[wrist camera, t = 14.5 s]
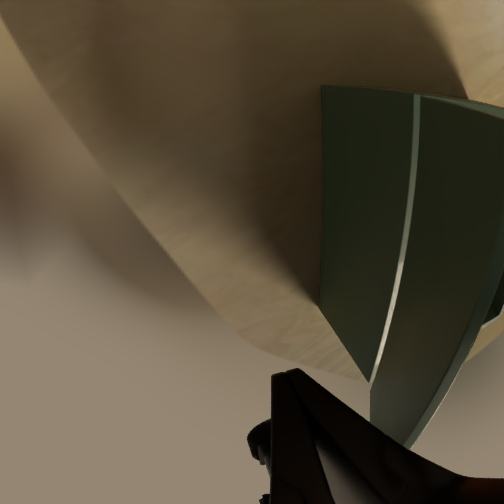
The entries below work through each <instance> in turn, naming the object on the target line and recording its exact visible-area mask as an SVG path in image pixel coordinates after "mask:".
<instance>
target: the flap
mask: <svg viewBox="0 0 504 504" xmlns="http://www.w3.org/2000/svg"><path fill="white" fill-rule="evenodd" d="M503 270H504V117H501V116H498V115H495V114H492V113H489V112H485V111H482V110H479V109H475V108H472V107H468V106H464V105H461V104H457V103H453V102H449V101H445V100H440V99H436V98H431V97H425V96H420V126H419V146H418V160H417V172H416V182H415V192H414V200H413V208H412V216H411V223H410V229H409V236H408V242H407V248H406V253H405V259H404V264H403V269H402V274H401V279H400V284H399V289H398V293H397V298H396V302H395V306H394V311H393V315H392V319H391V323H390V327H389V330H388V334H387V338H386V342H385V345H384V349H383V352H382V356H381V359H380V362H379V366H378V369H377V372H376V375H375V378H374V382H373V385H372V388H371V391H370V423H371V424H373V425H374V426H375V427H377V428H378V429H380V430H381V431H382V432H384V435H385V434H387V435H388V436H389V437H391V438H392V439H394V440H395V441H396V442H398V443H399V444H401V445H403V446H404V447H406V448H407V449H409V450H410V449H411V448H412V446H413V445H414V443H415V442H416V441H417V439H418V438H419V436H420V435H421V434H422V432H423V431H424V429H425V428H426V426H427V424H428V423H429V422H430V420H431V419H432V417H433V415H434V414H435V412H436V411H437V409H438V407H439V406H440V404H441V403H442V401H443V399H444V398H445V396H446V395H447V393H448V391H449V389H450V388H451V386H452V384H453V382H454V381H455V379H456V377H457V375H458V373H459V371H460V369H461V368H462V366H463V364H464V362H465V360H466V358H467V356H468V354H469V352H470V350H471V348H472V346H473V344H474V342H475V340H476V337H477V335H478V333H479V331H480V329H481V326H482V324H483V322H484V320H485V317H486V315H487V312H488V310H489V308H490V305H491V303H492V300H493V297H494V295H495V292H496V290H497V287H498V284H499V281H500V278H501V276H502V273H503Z"/></svg>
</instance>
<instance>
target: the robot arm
mask: <svg viewBox="0 0 504 504" xmlns="http://www.w3.org/2000/svg"><path fill="white" fill-rule="evenodd" d="M257 448H258V455H259V461H260V464H261V465H266V467H267V470H268V473H269V475H270V494H264V495H262V496H263V498H262V499H260V500H259V502H260V504H504V479H503V478H474V477H467V476H462V475H459V474H456V473H454V472H452V471H450V470H447V469H445V468H443V467H441V466H439V465H437V464H435V463H433V462H431V461H429V460H427V459H425V458H423V457H421V456H420V455H418V454H416V453H414V452H412V451H410V450H409V449H407V448H406V447H404V446H403V445H401V444H399V443H398V442H396V441H395V440H394V439H392V438H391V437H389V436H388V435H387V434H385V435H384V432H382V431H381V430H380V429H378V428H377V427H375V426H374V425H373V424H371V423H370V422H369V421H367V420H366V419H364V418H363V417H362V416H360V415H359V414H358V413H356V412H355V411H354V410H352V409H351V408H350V407H348V406H347V405H346V404H345V403H343V402H342V401H341V400H339V399H338V398H337V397H335V396H334V395H333V394H331V393H330V392H329V391H328V390H326V389H325V388H324V387H322V386H321V385H320V384H318V383H317V382H316V381H315V380H314V379H312V378H311V377H310V376H308V375H307V374H306V373H305V372H303V371H302V370H301V369H299V368H295V369H291V370H288V371H286V372H280V373H276V374H273V375H272V376H271V439H269V440H265V441H261V442H259V443H257Z"/></svg>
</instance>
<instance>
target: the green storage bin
mask: <svg viewBox="0 0 504 504" xmlns="http://www.w3.org/2000/svg"><path fill="white" fill-rule="evenodd" d="M420 96H425V97H431V98H436V99H440V100H445V101H449V102H453V103H457V104H461V105H464V106H468V107H472V108H475V109H479V110H482V111H485V112H489V113H492V114H495V115H498V116H501V117H504V108H503V107H499V106H495V105H491V104H487V103H482V102H478V101H473V100H469V99H463V98H458V97H452V96H446V95H440V94H433V93H426V92H418V91H409V90H400V89H389V88H377V87H361V86H333V85H322V86H321V99H322V133H323V213H322V248H321V272H320V290H319V307H318V308H319V309H320V311H321V312H322V314H323V315H324V317H325V318H326V320H327V321H328V323H329V324H330V325H331V327H332V328H333V330H334V331H335V333H336V334H337V336H338V337H339V339H340V340H341V342H342V343H343V345H344V346H345V348H346V349H347V351H348V352H349V354H350V355H351V357H352V358H353V360H354V361H355V363H356V364H357V366H358V367H359V369H360V371H361V372H362V374H363V375H364V377H365V378H366V380H367V381H368V383H370V382H372V381H374V378H375V375H376V372H377V369H378V366H379V362H380V359H381V356H382V352H383V349H384V345H385V342H386V338H387V334H388V330H389V327H390V323H391V319H392V315H393V311H394V306H395V302H396V298H397V293H398V289H399V284H400V279H401V274H402V269H403V264H404V259H405V253H406V248H407V242H408V236H409V229H410V223H411V216H412V208H413V200H414V192H415V182H416V172H417V160H418V146H419V126H420ZM503 310H504V270H503V273H502V276H501V278H500V281H499V284H498V287H497V290H496V292H495V295H494V297H493V300H492V303H491V305H490V308H489V310H488V312H487V315H486V317H485V320H484V322H483V324H482V326H481V329H482V328H484V327H486V326H487V325H489V324H491V323H492V322H494V321H496V320H497V319H499V318H500V317H501V315H502V313H503Z"/></svg>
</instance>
